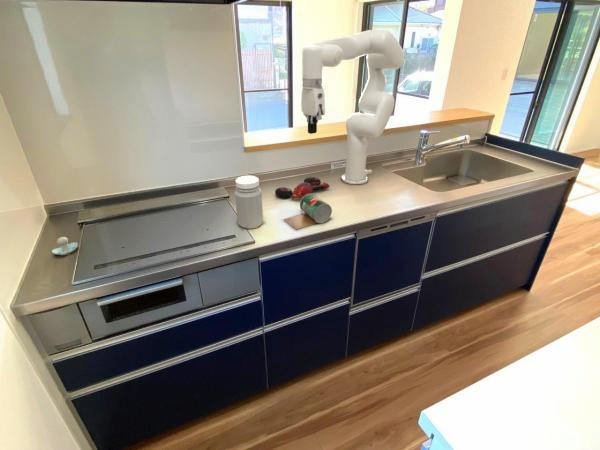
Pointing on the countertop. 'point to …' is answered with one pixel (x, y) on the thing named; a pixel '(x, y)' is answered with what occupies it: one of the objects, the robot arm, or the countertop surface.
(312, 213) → the canned tomato
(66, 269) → the countertop surface
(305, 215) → the mat
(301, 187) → the toy motorcycle
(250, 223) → the jar
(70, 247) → the pacifier
